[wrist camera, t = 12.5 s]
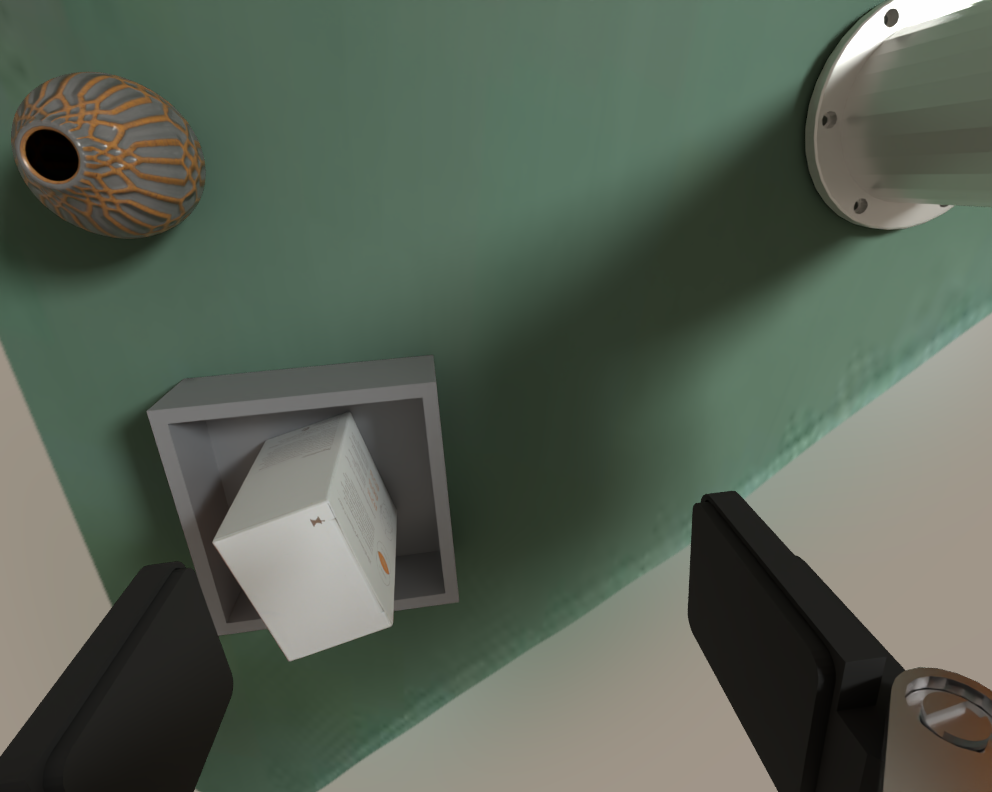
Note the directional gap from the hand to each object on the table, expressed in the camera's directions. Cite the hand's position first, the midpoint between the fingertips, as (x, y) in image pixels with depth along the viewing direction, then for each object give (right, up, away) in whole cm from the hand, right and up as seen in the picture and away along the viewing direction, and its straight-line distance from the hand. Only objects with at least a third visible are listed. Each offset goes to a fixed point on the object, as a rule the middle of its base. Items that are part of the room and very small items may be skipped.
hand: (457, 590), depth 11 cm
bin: (-10, -1, +26) cm, 28 cm away
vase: (-17, +16, +19) cm, 30 cm away
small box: (-9, -1, +26) cm, 27 cm away
